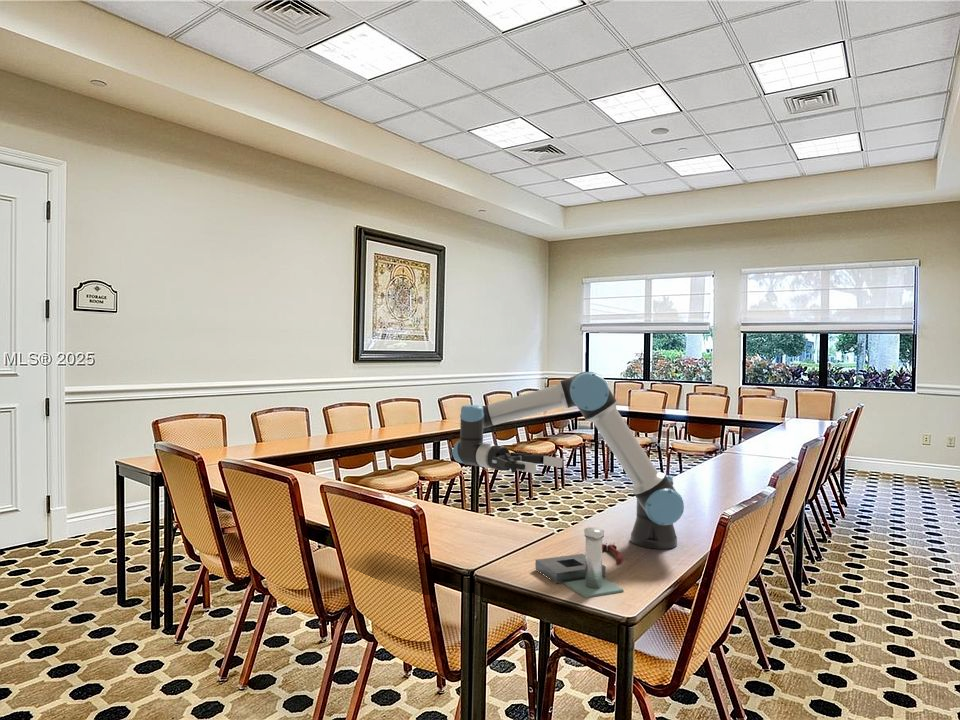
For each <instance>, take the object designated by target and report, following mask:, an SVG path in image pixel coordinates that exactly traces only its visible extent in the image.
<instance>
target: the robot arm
mask: <svg viewBox="0 0 960 720" xmlns="http://www.w3.org/2000/svg"><path fill="white" fill-rule="evenodd" d="M617 403H618V401H617V398H616V397H615V395H614V394H613V392H612V391H611V389H610V388H609V385H608V382H607V381H606V379H605V378H604V377H603V376H601V375H600V374H599V373H596V372H593V371H581V372H579V373H577V374H576V375H573V376H571V377H569V378H565V379H563V380H559V382H558V383H557V384H555V385H554V386H553V385H552V386H549V387H546V388H542V389H539V390H534V391H532V392H529V393H525V394H521V395H520V394H519V395H517V396H513V397H510V398H506V399H503V400H499V401H496V402H492V403H489V404H486V405H478V404H476V405H475V404H465V405H462V406H461V407H460V414H459V415H460V416H459V417H460V422H459V423H460V424H459V426H460V433H459V434H460V435H459V438H460V439H459V440H457V441H456V442H455V443H454V445H453V448H452V452H451V453H452V457H453V459H454V460H455V461H456V462H457V463H460V464H464V465H468V466H475V467H482V468H484V470H488V469H493V470H497V471H503V470H505V471H508V472H509V471H510V470H511V473H514V474H515V473H516V471H517V472H518V471H520V472H524V473H530V474H536V473H537V465H539V464H540V465H541V464H542V465H543V466H548V467H555V468H563V460H564V459H563V457H556V456H548V454H547V453H546V452H544V453H543V454H541V453H539V454H538V453H537V454H536V453H524V452H510V450H509V448H508V447H507V446H505V445H498V444H497V445H496V444H491V443H484V441H483V439H484V429H486V428H490V427H493V426H496V425H500V424H503V423H504V424H505V423H507V422H511V421H515V420H518V419H519V420H520V419H522V418H525V417H529V416H533V415H535V414H540V413H544V412H547V411H550V410H551V411H552V410H554V409H558V408H562V407H565V408H566V409H570V408H573V407H574V408H575V407H577V408H578V410H579V412H580V413H581V415H582V416H583V418H584V419H585V421H588V422H592V424H594V426H595V428H596V429H597V431H598V432H599V434H600V435H601V437H602V438H603V440H604V441H605V443H606V444H607V446H608V447H609V448H608V449H610V451H611V452H612V453H613V455H614V457H615V458H616V460H617V462H618V463H619V464H620V466H621V468H622V469H623V470H624V472H625V474H626V475H627V477H628V478H629V480H630V482H631V483H632V484H633V488H632V493H633V495H634V496H635V498H636V517H635V518H636V519H635V521H634V525H633V527H632V530H631V533H630V542H631V543H633V544H634V545H636V546H639V547H643V548H646V549H647V548H648V549H656V550H665V549H666V550H668V549H673V548H675V547H677V546H678V536H677V532H676V531H675V530H676V529H675V527H674V524H675V523H676V522H678V521H679V520H680V519H681V518H682V516H683V514H684V510H685V504H684V503H685V502H684V500H683V497H682V495H681V494H680V493H679V492H677V490H676V489H675V487H674V478H673V477H672V475H668V474H665V473H664V472H661V471H658V470H657V469H656V467H655V465H654V464H653V463H652V461H651V460H650V457H649V456H648V455H647V453H646V452H645V450H644V449H643V446H641V444H640V443H639V441H638V440H637V438H636V436H635V435H634V433H633V432H632V430H631V429H630V427H629V425H628V424H627V423H626V421H625V420H624V418H623V417H622V415H621V413H620V412H619V411H618V409H617Z"/></svg>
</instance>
